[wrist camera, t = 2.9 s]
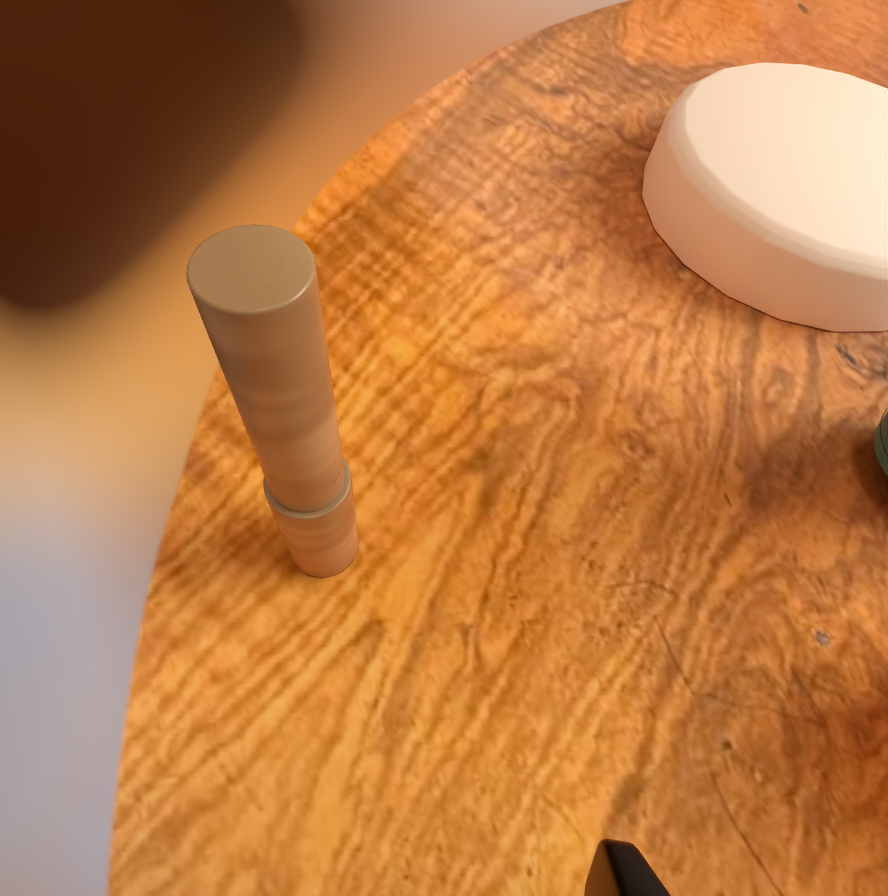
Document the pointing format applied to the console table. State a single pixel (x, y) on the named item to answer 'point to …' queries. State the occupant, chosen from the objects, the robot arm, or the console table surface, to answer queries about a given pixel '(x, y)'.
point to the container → (779, 191)
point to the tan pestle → (281, 383)
